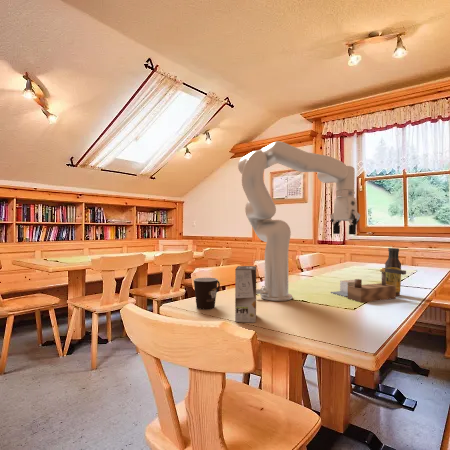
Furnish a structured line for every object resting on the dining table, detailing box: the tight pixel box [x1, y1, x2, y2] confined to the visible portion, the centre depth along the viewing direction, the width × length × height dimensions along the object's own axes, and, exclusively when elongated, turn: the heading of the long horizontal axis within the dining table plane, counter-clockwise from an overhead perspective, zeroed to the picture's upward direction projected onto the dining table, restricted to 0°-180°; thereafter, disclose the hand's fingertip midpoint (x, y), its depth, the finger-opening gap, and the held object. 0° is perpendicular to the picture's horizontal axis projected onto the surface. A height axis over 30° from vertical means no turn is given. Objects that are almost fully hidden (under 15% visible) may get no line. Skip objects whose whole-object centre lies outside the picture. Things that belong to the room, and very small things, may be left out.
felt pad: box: [330, 290, 348, 298], centre depth 140 cm, size 12×9×1 cm
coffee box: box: [234, 265, 257, 323], centre depth 103 cm, size 9×6×16 cm
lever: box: [379, 267, 407, 276], centre depth 130 cm, size 10×3×1 cm, turn 28°
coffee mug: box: [193, 277, 221, 311], centre depth 117 cm, size 12×9×10 cm
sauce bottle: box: [384, 247, 402, 297], centre depth 138 cm, size 6×6×20 cm
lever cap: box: [339, 279, 355, 294], centre depth 140 cm, size 7×4×5 cm, turn 112°
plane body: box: [347, 272, 397, 303], centre depth 131 cm, size 18×7×10 cm, turn 112°
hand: (344, 234), depth 142 cm, fingers open, 9 cm apart
